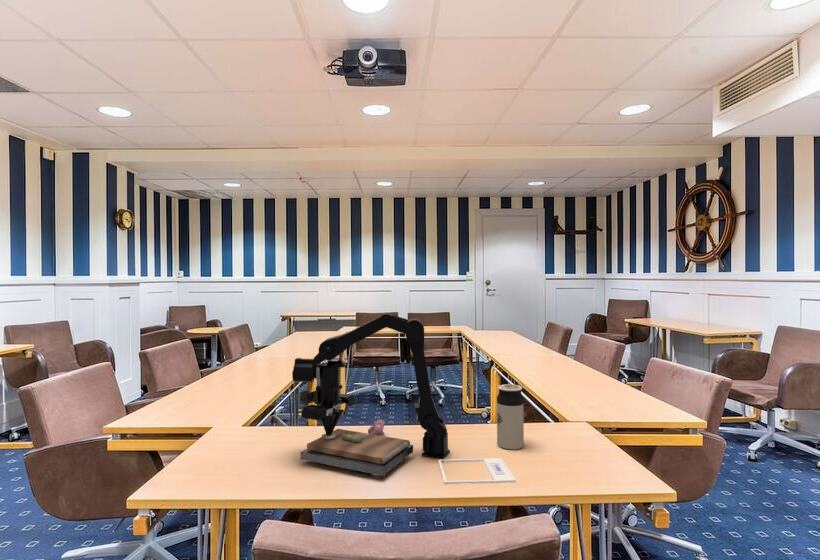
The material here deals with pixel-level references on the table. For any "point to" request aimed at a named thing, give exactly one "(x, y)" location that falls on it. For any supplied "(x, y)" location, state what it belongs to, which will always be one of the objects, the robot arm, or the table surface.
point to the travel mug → (510, 417)
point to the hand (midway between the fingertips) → (328, 435)
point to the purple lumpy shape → (377, 428)
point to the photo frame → (494, 467)
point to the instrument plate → (359, 445)
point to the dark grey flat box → (357, 461)
